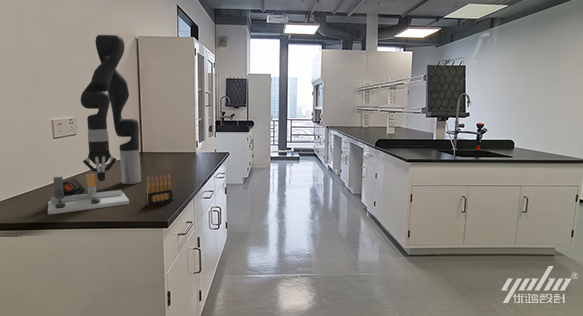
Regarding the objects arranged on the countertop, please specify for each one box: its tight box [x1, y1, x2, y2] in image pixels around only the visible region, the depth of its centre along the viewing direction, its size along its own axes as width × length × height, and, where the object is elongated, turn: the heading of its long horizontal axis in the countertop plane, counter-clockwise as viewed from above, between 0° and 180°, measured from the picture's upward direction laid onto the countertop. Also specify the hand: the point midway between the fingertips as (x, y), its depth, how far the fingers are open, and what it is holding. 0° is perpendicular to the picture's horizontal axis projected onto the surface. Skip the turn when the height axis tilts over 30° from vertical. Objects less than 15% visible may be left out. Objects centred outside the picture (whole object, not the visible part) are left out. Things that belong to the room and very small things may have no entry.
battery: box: [63, 178, 86, 196], centre depth 165 cm, size 12×8×7 cm
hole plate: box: [47, 192, 130, 215], centre depth 151 cm, size 16×28×3 cm, turn 122°
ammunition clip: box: [145, 173, 174, 207], centre depth 152 cm, size 11×2×12 cm, turn 135°
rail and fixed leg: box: [50, 176, 123, 204], centre depth 150 cm, size 11×26×10 cm, turn 122°
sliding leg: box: [85, 173, 97, 199], centre depth 151 cm, size 11×3×8 cm, turn 32°
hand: (101, 180), depth 156 cm, fingers closed
